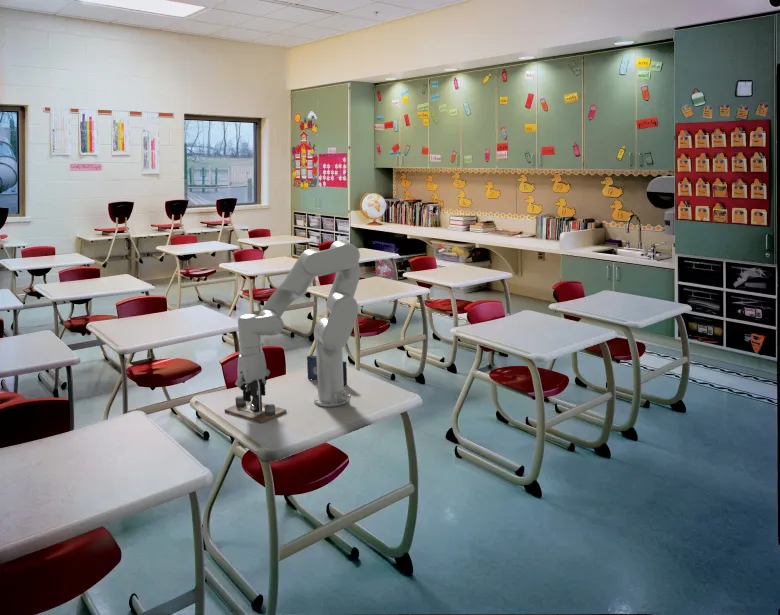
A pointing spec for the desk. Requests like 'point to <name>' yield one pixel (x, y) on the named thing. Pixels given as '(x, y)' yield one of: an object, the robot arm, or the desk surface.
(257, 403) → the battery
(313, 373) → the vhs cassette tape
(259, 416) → the collar board
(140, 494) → the desk surface
